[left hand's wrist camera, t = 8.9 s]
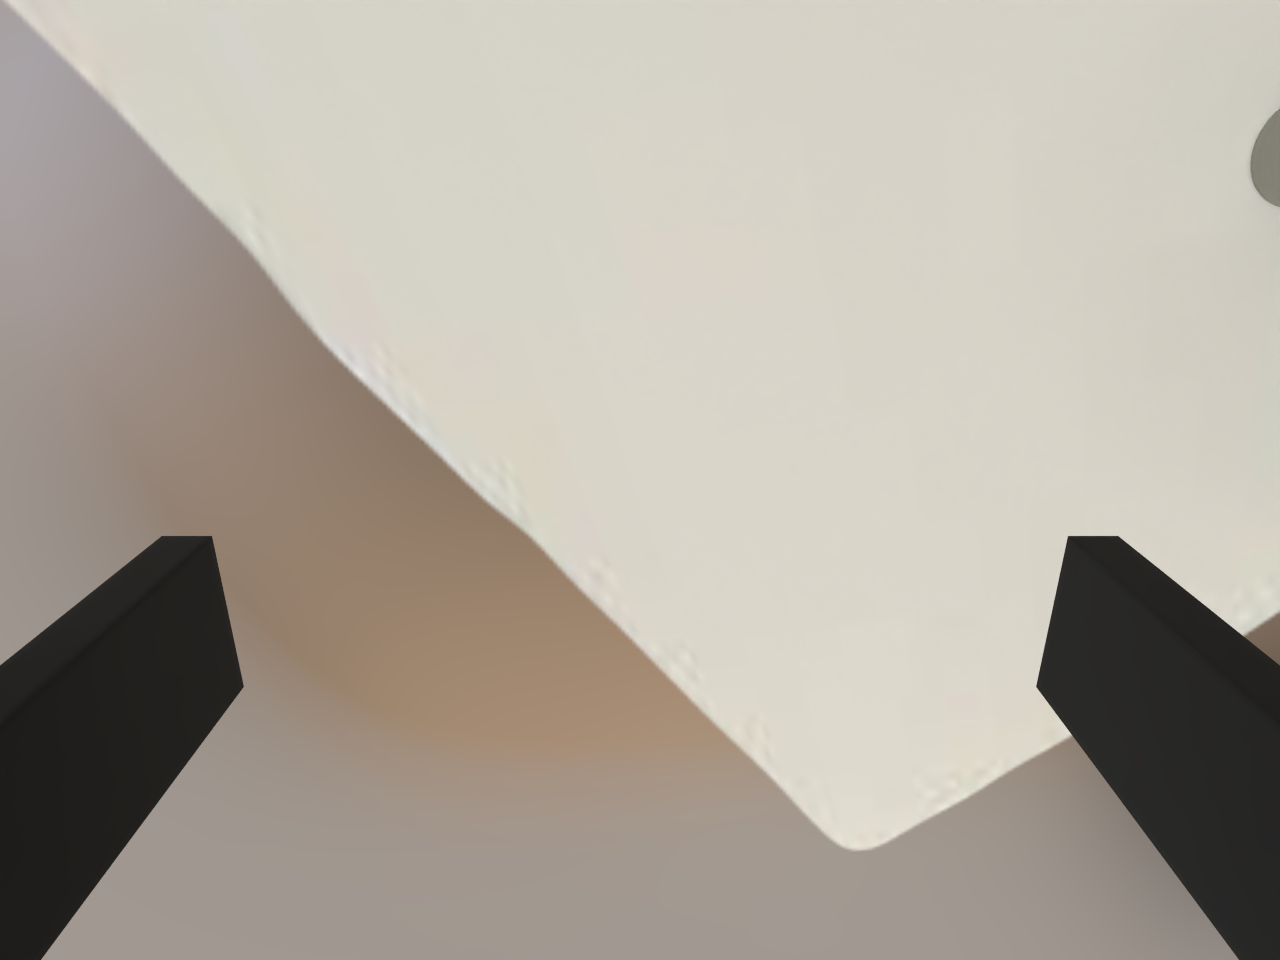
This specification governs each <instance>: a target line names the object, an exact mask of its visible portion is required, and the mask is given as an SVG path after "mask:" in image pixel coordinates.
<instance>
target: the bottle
mask: <svg viewBox="0 0 1280 960" xmlns="http://www.w3.org/2000/svg"><path fill="white" fill-rule="evenodd" d="M1251 175H1252V179H1253V182H1254V185H1255V187H1256V189H1257V191H1258V192H1259V193H1260V195H1261V196H1262V197H1263V198H1264V199H1265V200H1267V201H1268V202H1270V203H1271V204H1274V205H1276V206H1279V207H1280V109H1279V110H1278V111H1277V112H1276V113H1275V114H1274V115H1273V116H1272V117H1271V118H1270V119H1269V120H1268V122H1267V123H1266V124H1265V126H1264V127H1263V129H1262V130H1261V132H1260V134H1259V136H1258V138H1257V140H1256V143H1255V145H1254V148H1253V152H1252V157H1251Z"/></svg>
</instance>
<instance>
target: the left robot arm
mask: <svg viewBox="0 0 1280 960" xmlns="http://www.w3.org/2000/svg"><path fill="white" fill-rule="evenodd" d="M243 687H244V686H243V681H242V676H241V672H240V667H239V662H238V657H237V653H236V648H235V643H234V638H233V634H232V629H231V624H230V620H229V615H228V610H227V605H226V601H225V596H224V591H223V587H222V582H221V577H220V572H219V568H218V563H217V558H216V553H215V549H214V544H213V539H212V536H161V537H160V538H159V539H158V540H156V541H155V542H154V543H153V544H151V545H150V546H149V547H148V548H146V549H145V550H144V551H143V552H141V553H140V554H139V555H138V556H136V557H135V558H134V559H133V560H131V561H130V562H129V563H128V564H126V565H125V566H124V567H123V568H121V569H120V570H119V571H118V572H117V573H115V574H114V575H113V576H111V577H110V578H109V579H108V580H106V581H105V582H104V583H103V584H101V585H100V586H99V587H98V588H96V589H95V590H94V591H93V592H91V593H90V594H89V595H88V596H87V597H85V598H84V599H83V600H82V601H80V602H79V603H78V604H77V605H75V606H74V607H73V608H72V609H70V610H69V611H68V612H67V613H65V614H64V615H63V616H61V617H60V618H59V619H58V620H57V621H55V622H54V623H53V624H52V625H50V626H49V627H48V628H46V629H45V630H44V631H43V632H41V633H40V634H39V635H38V636H37V637H35V638H34V639H33V640H31V641H30V642H29V643H28V644H26V645H25V646H24V647H23V648H22V649H20V650H19V651H18V652H17V653H15V654H14V655H13V656H12V657H10V658H9V659H8V660H7V661H5V662H4V663H3V664H2V665H0V960H41V959H42V958H43V956H44V955H45V953H46V952H47V951H48V949H49V948H50V947H51V945H52V944H53V943H54V941H55V940H56V939H57V937H58V936H59V935H60V933H61V932H62V931H63V929H64V928H65V927H66V925H67V924H68V923H69V921H70V920H71V918H72V917H73V916H74V914H75V913H76V912H77V910H78V909H79V908H80V906H81V905H82V904H83V902H84V901H85V900H86V898H87V897H88V896H89V894H90V893H91V892H92V890H93V889H94V888H95V886H96V885H97V883H98V882H99V881H100V879H101V878H102V877H103V875H104V874H105V873H106V871H107V870H108V869H109V867H110V866H111V865H112V863H113V862H114V861H115V859H116V858H117V857H118V855H119V854H120V852H121V851H122V850H123V849H124V847H125V846H126V844H127V843H128V842H129V840H130V839H131V838H132V836H133V835H134V834H135V832H136V831H137V830H138V828H139V827H140V826H141V824H142V823H143V822H144V820H145V819H146V818H147V816H148V815H149V814H150V812H151V811H152V809H153V808H154V807H155V805H156V804H157V803H158V801H159V800H160V799H161V797H162V796H163V795H164V793H165V792H166V791H167V789H168V788H169V787H170V785H171V784H172V783H173V781H174V780H175V778H176V777H177V776H178V774H179V773H180V772H181V770H182V769H183V768H184V766H185V765H186V764H187V762H188V761H189V760H190V758H191V757H192V756H193V754H194V753H195V752H196V750H197V749H198V748H199V746H200V745H201V743H202V742H203V741H204V739H205V738H206V737H207V735H208V734H209V733H210V731H211V730H212V729H213V727H214V726H215V725H216V723H217V722H218V721H219V719H220V718H221V717H222V715H223V714H224V713H225V711H226V710H227V708H228V707H229V706H230V705H231V703H232V702H233V700H234V699H235V698H236V696H237V695H238V694H239V692H240V691H241V690H242V688H243ZM1036 687H1037V688H1038V690H1039V691H1040V692H1041V694H1042V695H1043V696H1044V698H1045V699H1046V700H1047V702H1048V703H1049V705H1050V706H1051V707H1052V709H1053V710H1054V711H1055V713H1056V714H1057V715H1058V717H1059V718H1060V719H1061V721H1062V722H1063V723H1064V725H1065V726H1066V727H1067V729H1068V730H1069V731H1070V733H1071V734H1072V735H1073V737H1074V738H1075V740H1076V741H1077V742H1078V743H1079V745H1080V746H1081V748H1082V749H1083V750H1084V752H1085V753H1086V754H1087V756H1088V757H1089V758H1090V760H1091V761H1092V762H1093V764H1094V765H1095V766H1096V768H1097V769H1098V770H1099V772H1100V773H1101V775H1102V776H1103V777H1104V779H1105V780H1106V781H1107V783H1108V784H1109V785H1110V787H1111V788H1112V789H1113V791H1114V792H1115V793H1116V795H1117V796H1118V797H1119V799H1120V800H1121V801H1122V803H1123V804H1124V805H1125V807H1126V808H1127V809H1128V811H1129V812H1130V814H1131V815H1132V816H1133V818H1134V819H1135V820H1136V822H1137V823H1138V824H1139V826H1140V827H1141V828H1142V830H1143V831H1144V832H1145V834H1146V835H1147V836H1148V838H1149V839H1150V840H1151V842H1152V843H1153V844H1154V846H1155V847H1156V849H1157V850H1158V851H1159V853H1160V854H1161V855H1162V857H1163V858H1164V859H1165V861H1166V862H1167V863H1168V865H1169V866H1170V867H1171V869H1172V870H1173V871H1174V873H1175V874H1176V875H1177V877H1178V878H1179V879H1180V881H1181V882H1182V884H1183V885H1184V886H1185V888H1186V889H1187V890H1188V892H1189V893H1190V894H1191V896H1192V897H1193V898H1194V900H1195V901H1196V902H1197V904H1198V905H1199V906H1200V908H1201V909H1202V910H1203V912H1204V913H1205V914H1206V916H1207V917H1208V918H1209V920H1210V921H1211V923H1212V924H1213V925H1214V927H1215V928H1216V929H1217V931H1218V932H1219V933H1220V935H1221V936H1222V937H1223V939H1224V940H1225V941H1226V943H1227V944H1228V945H1229V947H1230V948H1231V949H1232V951H1233V952H1234V953H1235V955H1236V956H1237V957H1238V959H1239V960H1280V665H1278V664H1277V663H1276V662H1275V661H1273V660H1272V659H1271V658H1270V657H1268V656H1267V655H1266V654H1265V653H1263V652H1262V651H1261V650H1260V649H1258V648H1257V647H1256V646H1255V645H1253V644H1252V643H1251V642H1250V641H1249V640H1247V639H1246V638H1245V637H1244V636H1242V635H1241V634H1240V633H1239V632H1237V631H1236V630H1235V629H1234V628H1232V627H1231V626H1230V625H1229V624H1227V623H1226V622H1225V621H1224V620H1222V619H1221V618H1220V617H1219V616H1217V615H1216V614H1215V613H1214V612H1212V611H1211V610H1210V609H1209V608H1207V607H1206V606H1205V605H1204V604H1202V603H1201V602H1200V601H1199V600H1197V599H1196V598H1195V597H1194V596H1192V595H1191V594H1190V593H1189V592H1187V591H1186V590H1185V589H1184V588H1182V587H1181V586H1180V585H1179V584H1177V583H1176V582H1175V581H1174V580H1172V579H1171V578H1170V577H1169V576H1167V575H1166V574H1165V573H1164V572H1162V571H1161V570H1160V569H1159V568H1157V567H1156V566H1155V565H1154V564H1152V563H1151V562H1150V561H1149V560H1147V559H1146V558H1145V557H1144V556H1142V555H1141V554H1140V553H1139V552H1137V551H1136V550H1135V549H1134V548H1132V547H1131V546H1130V545H1129V544H1127V543H1126V542H1125V541H1124V540H1122V539H1121V538H1120V537H1119V536H1068V539H1067V544H1066V549H1065V553H1064V558H1063V563H1062V568H1061V572H1060V577H1059V582H1058V586H1057V591H1056V596H1055V601H1054V605H1053V610H1052V615H1051V620H1050V624H1049V629H1048V634H1047V638H1046V643H1045V648H1044V653H1043V657H1042V662H1041V667H1040V672H1039V676H1038V681H1037V686H1036Z"/></svg>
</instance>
